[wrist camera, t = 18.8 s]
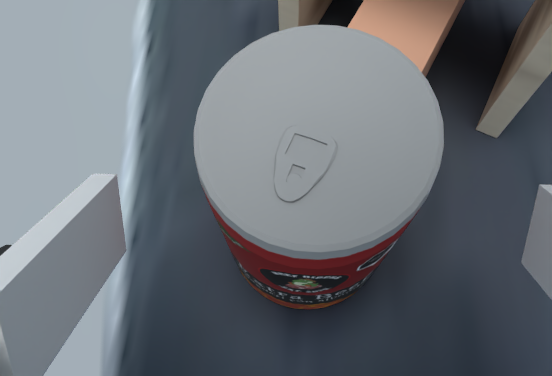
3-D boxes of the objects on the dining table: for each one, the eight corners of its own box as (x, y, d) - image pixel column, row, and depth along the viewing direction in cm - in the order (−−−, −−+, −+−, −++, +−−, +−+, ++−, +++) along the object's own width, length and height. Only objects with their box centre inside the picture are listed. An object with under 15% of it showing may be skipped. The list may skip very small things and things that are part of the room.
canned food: (221, 303, 23) (167, 239, 13) (244, 156, 26) (214, 12, 16) (379, 322, 23) (450, 269, 13) (384, 169, 26) (445, 29, 16)
